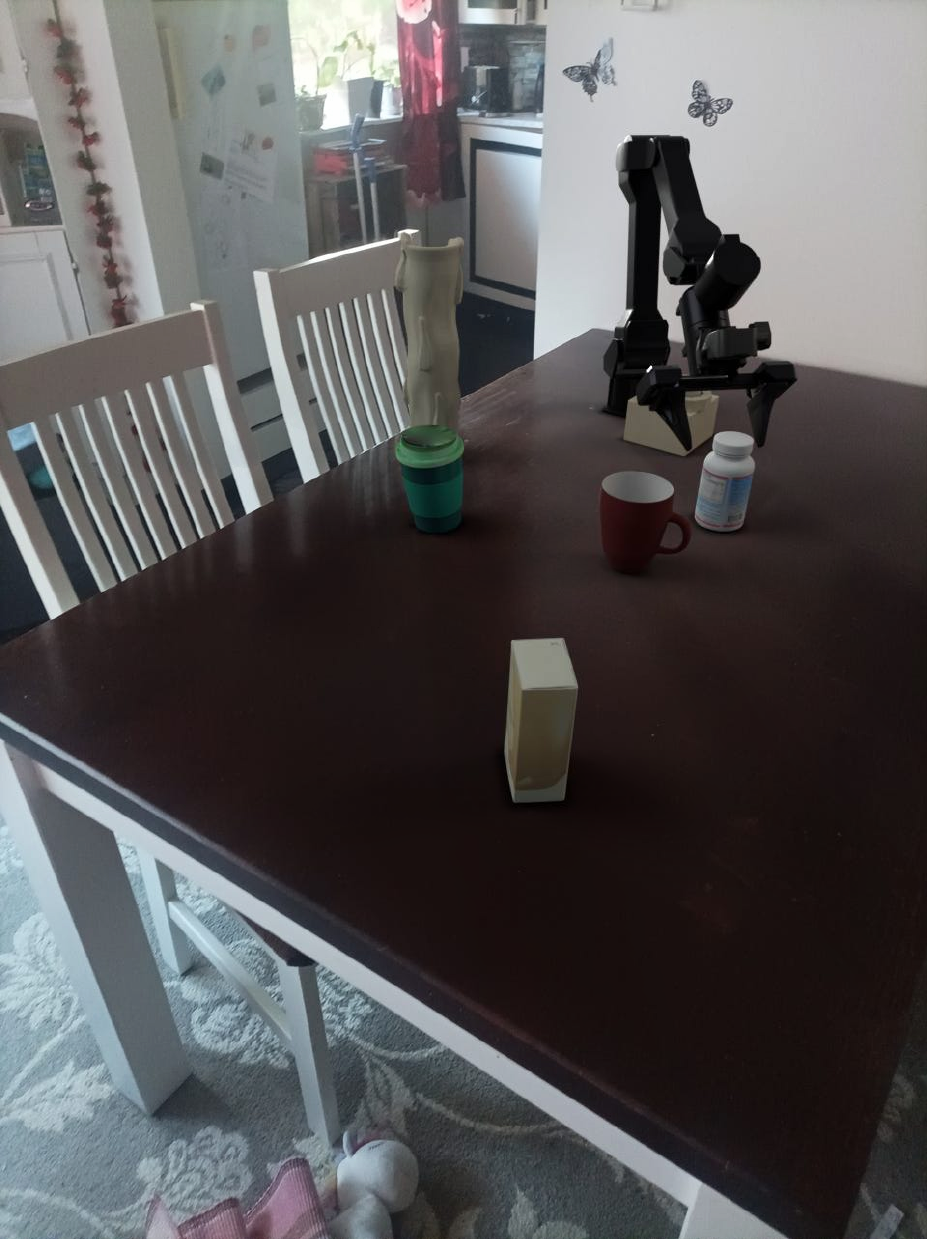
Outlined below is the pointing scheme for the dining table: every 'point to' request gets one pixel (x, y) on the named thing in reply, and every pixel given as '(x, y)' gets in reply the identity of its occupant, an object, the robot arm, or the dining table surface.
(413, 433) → the cup
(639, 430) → the block
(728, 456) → the pill bottle
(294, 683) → the dining table surface
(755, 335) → the robot arm
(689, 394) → the cylinder
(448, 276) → the vase
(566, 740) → the cosmetic box
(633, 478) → the mug
